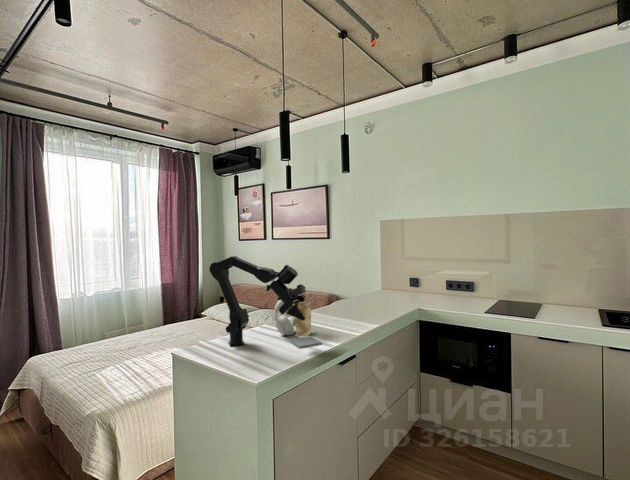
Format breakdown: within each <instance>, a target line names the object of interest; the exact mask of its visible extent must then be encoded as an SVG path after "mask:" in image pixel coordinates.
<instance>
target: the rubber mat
mask: <svg viewBox="0 0 630 480" xmlns="http://www.w3.org/2000/svg"><path fill="white" fill-rule="evenodd" d="M289 343H291V344H292V345H294V346H295V347H297V348H298V349H301V348H307V347H308V348H309V347H314V346H318V344H320V345H322V341H320V340H318V339H316V338H314V337H313V336H311V335H308V336H303V337H299V338H291V339H289Z"/></svg>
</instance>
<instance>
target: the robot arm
mask: <svg viewBox="0 0 630 480" xmlns="http://www.w3.org/2000/svg"><path fill="white" fill-rule="evenodd" d="M233 267H235V268H236V269H239V270H242V271H244V272H246V273H249V274H250V275H253V276H254V277H255V278H256V279H257V280H259V281H260V282H261V283H264V284H267V285H266V290H265V291H266V292H270V291H272V292H273V293H274V294H275V295H276V296H277V300H278V301H279V300H281V301H282V302H283V303H284V304H283V305H282V306H281V307H280V308H279V311H278V313H280V315H281V316H282V315H285V314H286V315H289V316H291V317H292V316H293V317H296V318H298V319H300V320H303V321H304V320H305V318H304V316H303V315H302V313H301V312H300V311H299V309H298V303H299V302H304V301H305V302H306V299H307V296H306V295H305V294H304V293H306V292H307V291H306V288H307V287H306V286H305V285H304V284H301V283H300V284H298V285H296V287H295V288H294V289H293V288H291V287H290V288H289V287H288V286H287V285H290V284H291V283H292V282H293V281H294V280H295V279H296V277H298V275H299V273H298V271H297V270H296V269H295V268H293V267H292V266H289V264H285V265H284V266H283V268H282V269H281V270H280V271H275V270H274V269H272V268H269V267H265V266H264V267H263V266H258V265H256V264H253V263H251V262H249V261H247V260H244V259H242V258H240V257H238V256H236V255H235V256H234V255H233V256H229V257H227V258H225V259H223V260H220V261H216V262H212V263H211V264H210V265H209V273H210V275H211V276H212V278H214V279H215V281H217V283H218V284H219V287H220V290H221V292H222V294H223V297H224V300H225V302H226V303H225V304H226V305H227V307H228V310H229V315H228V316H229V317H228V319H229V322H230V323H229V324H228V325H227V326H226V327H225V331H226V333H227V334H229V341H228V342H227V343H228V345H229V346H230V347H238V346H243V345H244V346H245V345H246V343H245V342H244V338H243V337H244V332H243V329H246V327H247V325H248V323H249V321H250V320H249V318H250V315H249V314H248V311H247V308H242V307H241V305H240V304H239V301H238V298H237V296H236V294H235V291H234V287H233V286H232V283H231V281H230V277H229V276H230V269H231V268H233ZM268 283H270V284H268ZM298 295H299V296H298Z"/></svg>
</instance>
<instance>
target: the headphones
mask: <svg viewBox="0 0 630 480" xmlns="http://www.w3.org/2000/svg"><path fill="white" fill-rule="evenodd" d="M299 295H300V294H299ZM299 295H298V296H299ZM304 302H306V300H305V301H304ZM283 304H284V303H283V302H282V301H281V300H278V301H277V302H276V304H275V306H274V311H273V317H274V318H273V319H274V321H275V327H276V330H277V331H278V333H279V334H280V335H282V336H285V335H286V336H290V335H292V334H293V333H294V334H296V317H293V316H291V317H290V319H289V318H288V317H287V316H286V315H285V314H283V315H282V314H281V315H279V316H278V313H279V308H280V307H281V306H282V305H283Z"/></svg>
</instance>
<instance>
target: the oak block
mask: <svg viewBox="0 0 630 480" xmlns="http://www.w3.org/2000/svg"><path fill="white" fill-rule="evenodd" d="M298 309H299V311H300V312H301V313H302V315H303V316H304V318H305V320H304V321H303V320H300V319H298V318H296V333H295V335H296V336H303V337H309V336H310V334H312V303H311V302H306V301H305V302H299V303H298Z"/></svg>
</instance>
